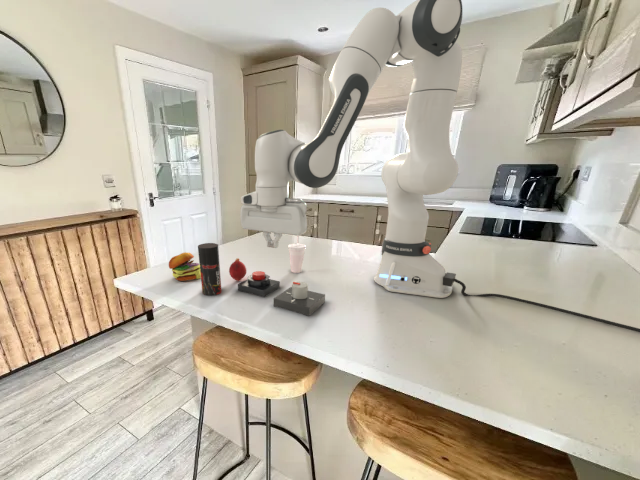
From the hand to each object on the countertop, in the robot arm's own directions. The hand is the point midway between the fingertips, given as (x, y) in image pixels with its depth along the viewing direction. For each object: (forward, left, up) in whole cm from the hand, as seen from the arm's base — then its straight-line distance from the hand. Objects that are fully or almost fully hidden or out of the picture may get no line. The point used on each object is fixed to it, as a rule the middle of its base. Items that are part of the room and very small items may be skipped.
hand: (272, 247), depth 88 cm
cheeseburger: (+34, +4, -15) cm, 37 cm away
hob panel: (-10, +2, -15) cm, 18 cm away
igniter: (+6, -1, -15) cm, 16 cm away
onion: (+16, -3, -15) cm, 22 cm away
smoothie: (+4, -22, -15) cm, 27 cm away
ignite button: (+6, -1, -11) cm, 12 cm away
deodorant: (+17, +9, -15) cm, 24 cm away
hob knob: (-10, +2, -12) cm, 16 cm away
